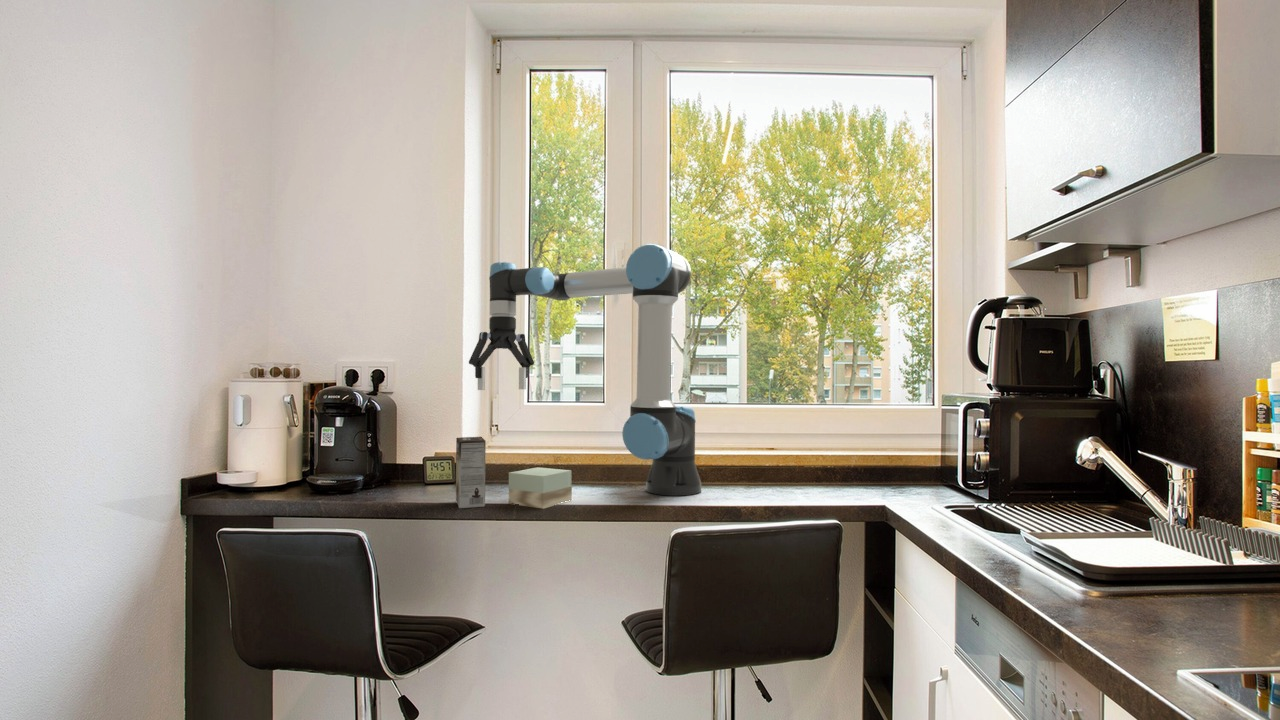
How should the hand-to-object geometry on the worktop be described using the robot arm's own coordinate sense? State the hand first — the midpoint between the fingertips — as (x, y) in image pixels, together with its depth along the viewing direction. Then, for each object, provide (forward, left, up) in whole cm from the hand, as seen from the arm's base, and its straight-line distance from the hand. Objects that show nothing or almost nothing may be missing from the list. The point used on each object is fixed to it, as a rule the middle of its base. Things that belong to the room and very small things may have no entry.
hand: (502, 389), depth 183 cm
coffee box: (-13, +24, -28) cm, 39 cm away
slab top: (-26, +13, -24) cm, 37 cm away
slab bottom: (-26, +13, -28) cm, 40 cm away
